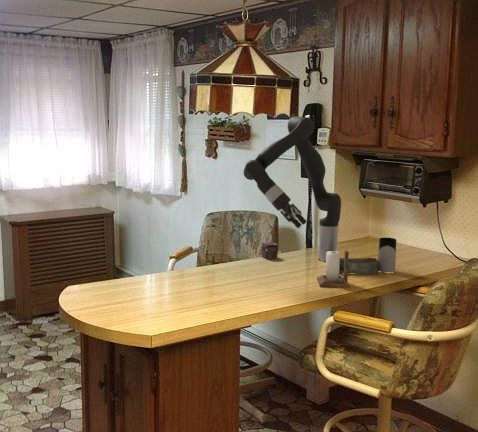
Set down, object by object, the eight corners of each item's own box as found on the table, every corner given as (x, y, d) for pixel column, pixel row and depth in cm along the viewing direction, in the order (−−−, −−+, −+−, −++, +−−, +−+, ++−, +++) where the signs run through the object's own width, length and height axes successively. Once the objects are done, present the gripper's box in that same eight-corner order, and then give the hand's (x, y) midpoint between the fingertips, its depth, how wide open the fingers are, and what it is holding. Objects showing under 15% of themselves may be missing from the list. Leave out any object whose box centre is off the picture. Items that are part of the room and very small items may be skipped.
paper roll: (325, 278, 250) (325, 250, 248) (338, 278, 250) (338, 250, 248) (326, 282, 244) (326, 253, 242) (340, 282, 244) (340, 253, 242)
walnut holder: (316, 279, 253) (318, 247, 251) (344, 279, 253) (346, 248, 251) (319, 287, 241) (321, 253, 239) (349, 287, 241) (350, 254, 239)
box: (261, 257, 293) (261, 242, 292) (271, 256, 296) (272, 241, 295) (266, 259, 288) (267, 245, 287) (277, 258, 290) (278, 244, 289)
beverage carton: (334, 269, 270) (334, 256, 269) (375, 271, 270) (376, 257, 268) (336, 274, 263) (336, 260, 262) (379, 275, 262) (379, 261, 261)
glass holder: (376, 272, 265) (377, 240, 263) (376, 265, 279) (378, 234, 276) (396, 274, 263) (398, 241, 261) (395, 266, 277) (397, 235, 274)
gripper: (278, 193, 246) (304, 222, 244) (288, 189, 259) (312, 216, 257) (266, 205, 249) (292, 233, 247) (276, 200, 262) (301, 227, 260)
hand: (302, 225), depth 252 cm, fingers open, 8 cm apart
